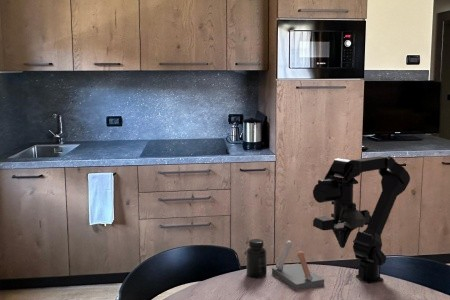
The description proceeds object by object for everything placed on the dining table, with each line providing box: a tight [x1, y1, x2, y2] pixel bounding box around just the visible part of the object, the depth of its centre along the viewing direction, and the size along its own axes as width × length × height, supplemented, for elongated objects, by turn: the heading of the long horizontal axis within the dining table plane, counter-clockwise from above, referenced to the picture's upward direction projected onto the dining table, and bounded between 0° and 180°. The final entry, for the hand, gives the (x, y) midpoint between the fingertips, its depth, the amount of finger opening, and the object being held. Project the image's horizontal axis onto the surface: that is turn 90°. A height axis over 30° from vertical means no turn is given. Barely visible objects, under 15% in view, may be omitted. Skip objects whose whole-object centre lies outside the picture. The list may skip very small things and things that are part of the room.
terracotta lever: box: [296, 251, 313, 281], centre depth 146 cm, size 2×2×10 cm
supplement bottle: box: [245, 238, 268, 279], centre depth 156 cm, size 7×7×12 cm
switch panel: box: [271, 263, 325, 292], centre depth 153 cm, size 10×16×2 cm
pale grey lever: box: [275, 240, 293, 270], centre depth 156 cm, size 2×2×10 cm
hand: (342, 247), depth 145 cm, fingers closed
